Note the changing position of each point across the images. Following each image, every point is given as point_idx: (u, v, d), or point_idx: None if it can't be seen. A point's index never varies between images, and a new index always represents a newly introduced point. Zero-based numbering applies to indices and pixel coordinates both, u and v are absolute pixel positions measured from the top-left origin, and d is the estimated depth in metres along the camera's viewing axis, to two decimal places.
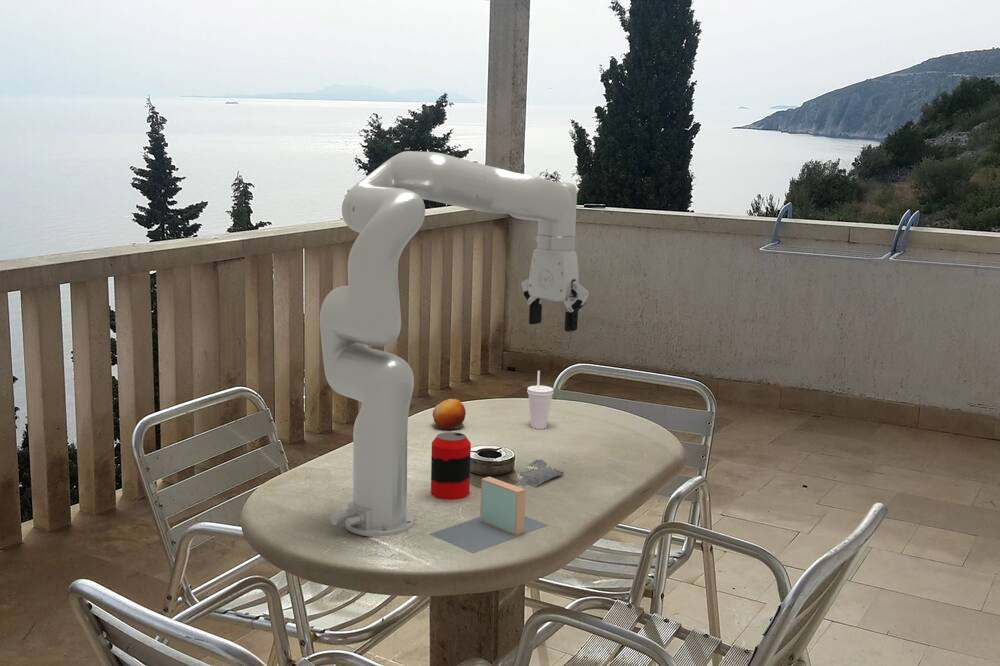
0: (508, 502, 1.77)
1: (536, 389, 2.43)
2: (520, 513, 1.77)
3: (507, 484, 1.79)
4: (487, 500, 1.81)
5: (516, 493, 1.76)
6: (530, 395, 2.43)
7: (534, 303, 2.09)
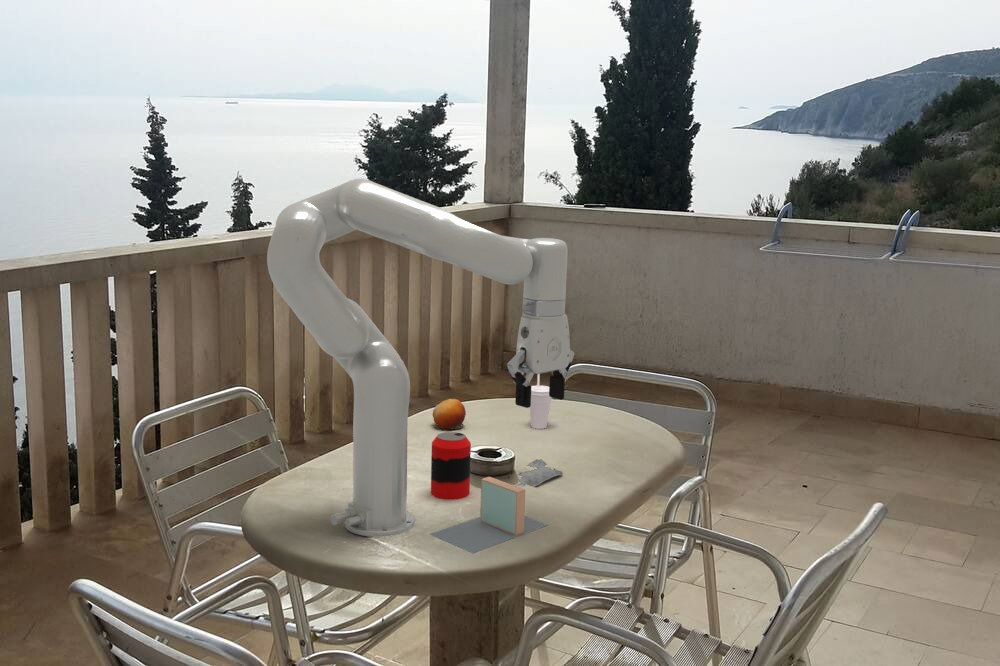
0: (508, 502, 1.77)
1: (536, 389, 2.43)
2: (520, 513, 1.77)
3: (507, 484, 1.79)
4: (487, 500, 1.81)
5: (516, 493, 1.76)
6: None
7: None
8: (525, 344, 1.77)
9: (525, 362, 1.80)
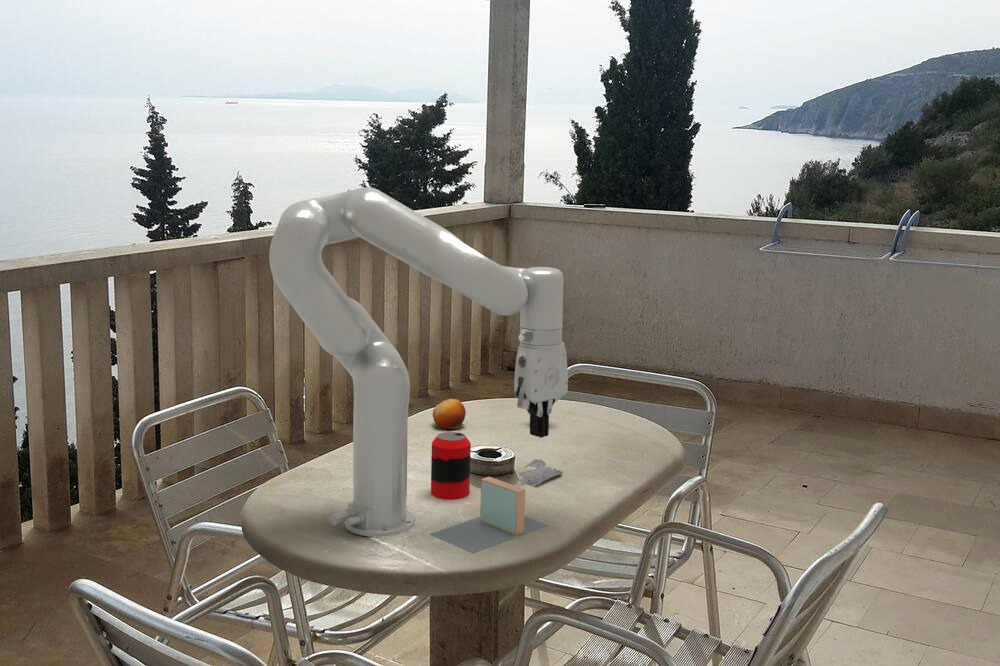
0: (508, 502, 1.77)
1: None
2: (520, 513, 1.77)
3: (507, 484, 1.79)
4: (487, 500, 1.81)
5: (516, 493, 1.76)
6: None
7: None
8: (523, 374, 1.78)
9: None
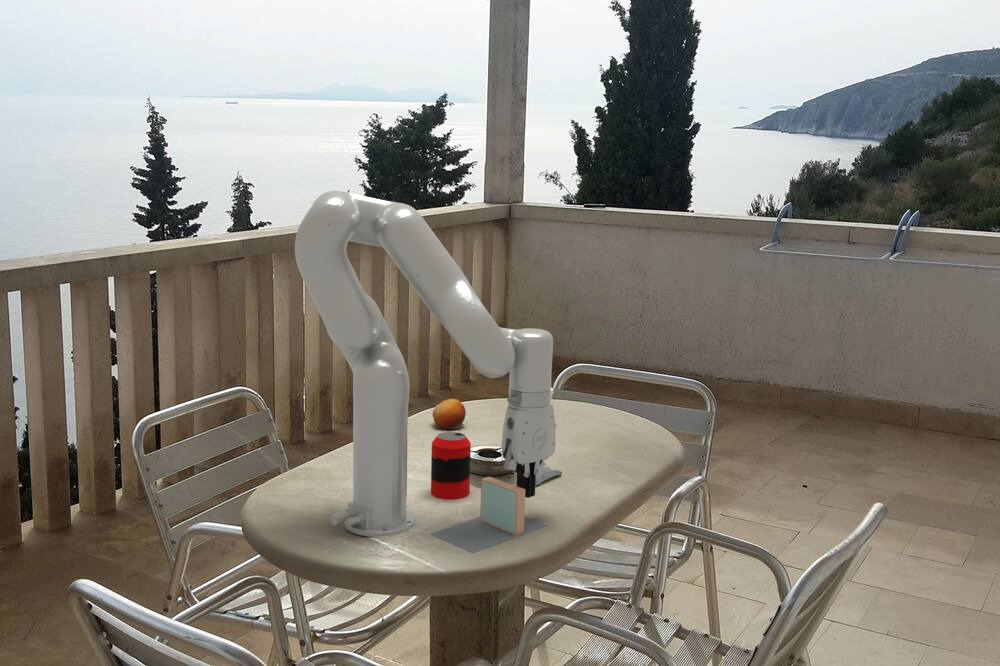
0: (508, 502, 1.77)
1: None
2: (520, 513, 1.77)
3: (507, 484, 1.79)
4: (487, 500, 1.81)
5: (516, 493, 1.76)
6: None
7: None
8: (510, 435, 1.78)
9: None
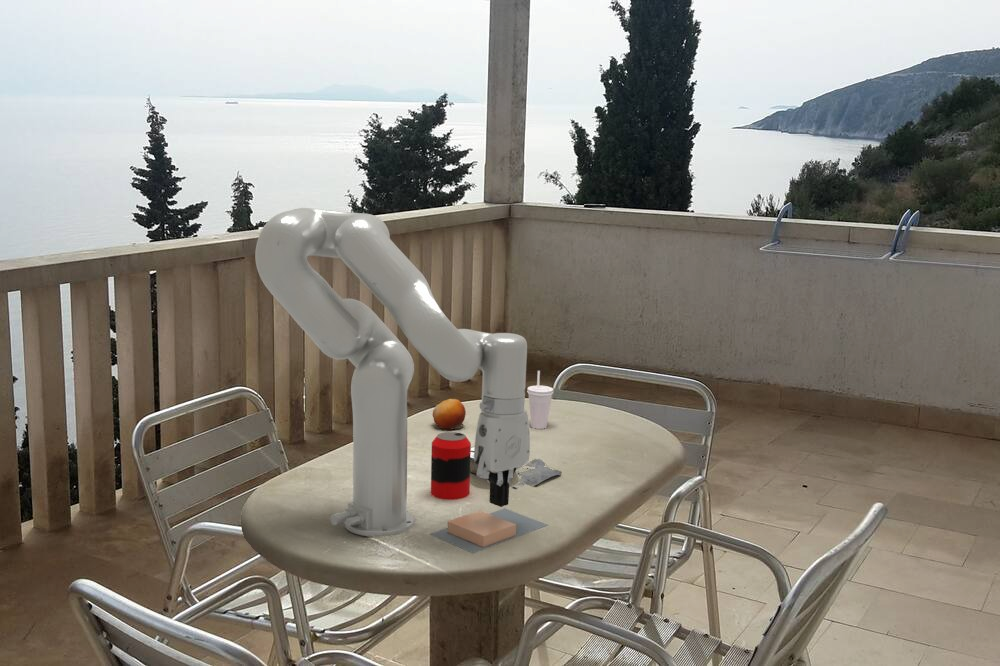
0: None
1: (536, 389, 2.43)
2: (500, 536, 1.74)
3: (467, 532, 1.74)
4: None
5: (483, 545, 1.72)
6: (530, 395, 2.43)
7: None
8: (483, 443, 1.73)
9: None
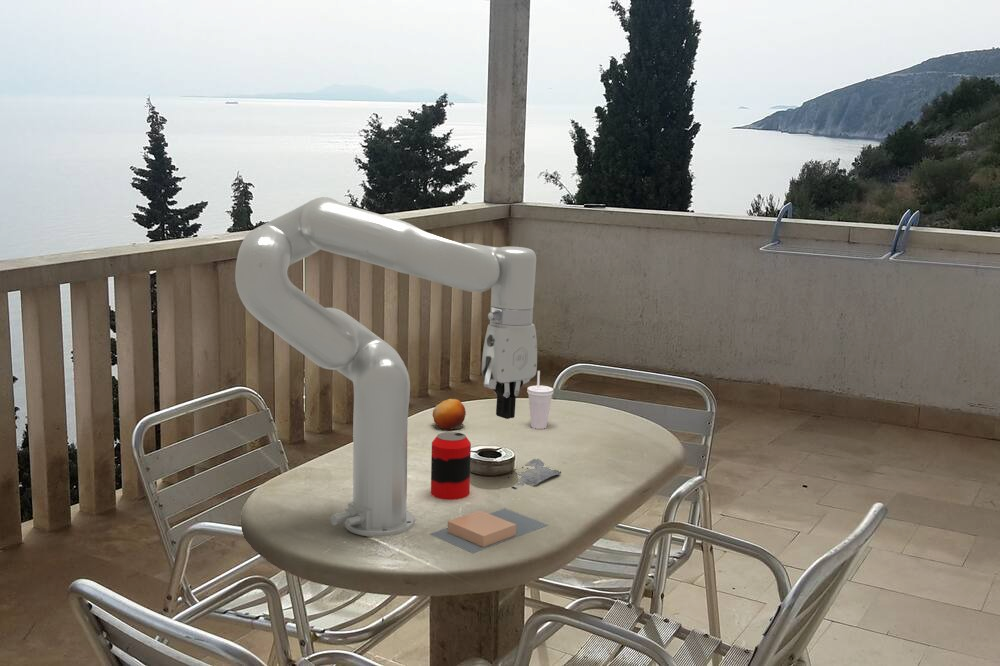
0: None
1: (536, 389, 2.43)
2: (500, 536, 1.74)
3: (467, 532, 1.74)
4: None
5: (483, 545, 1.72)
6: (530, 395, 2.43)
7: None
8: (490, 353, 1.76)
9: None
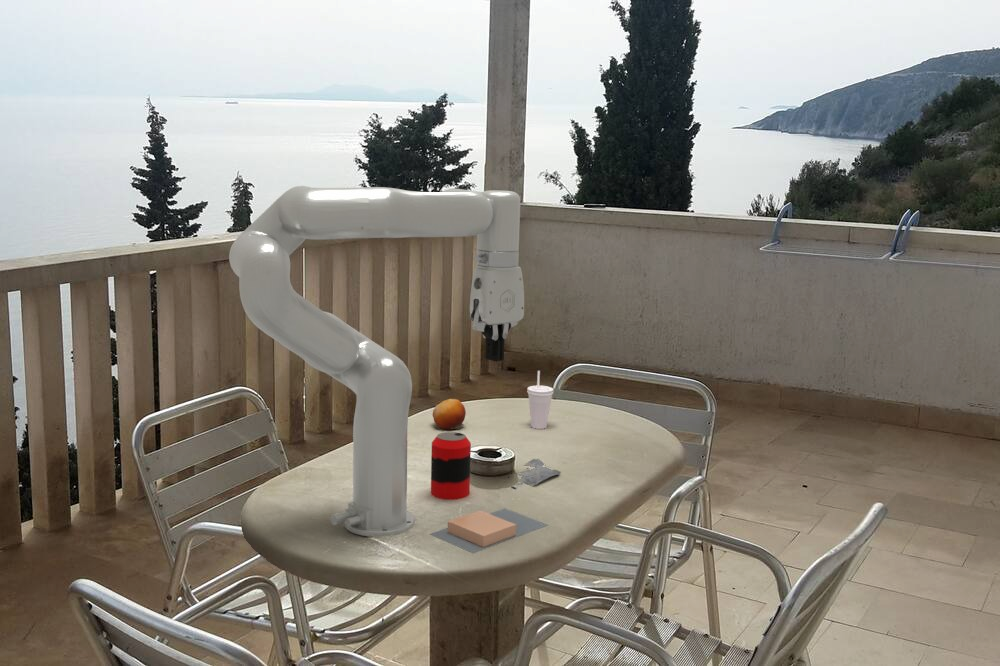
0: None
1: (536, 389, 2.43)
2: (500, 536, 1.74)
3: (467, 532, 1.74)
4: None
5: (483, 545, 1.72)
6: (530, 395, 2.43)
7: None
8: (478, 295, 1.78)
9: None
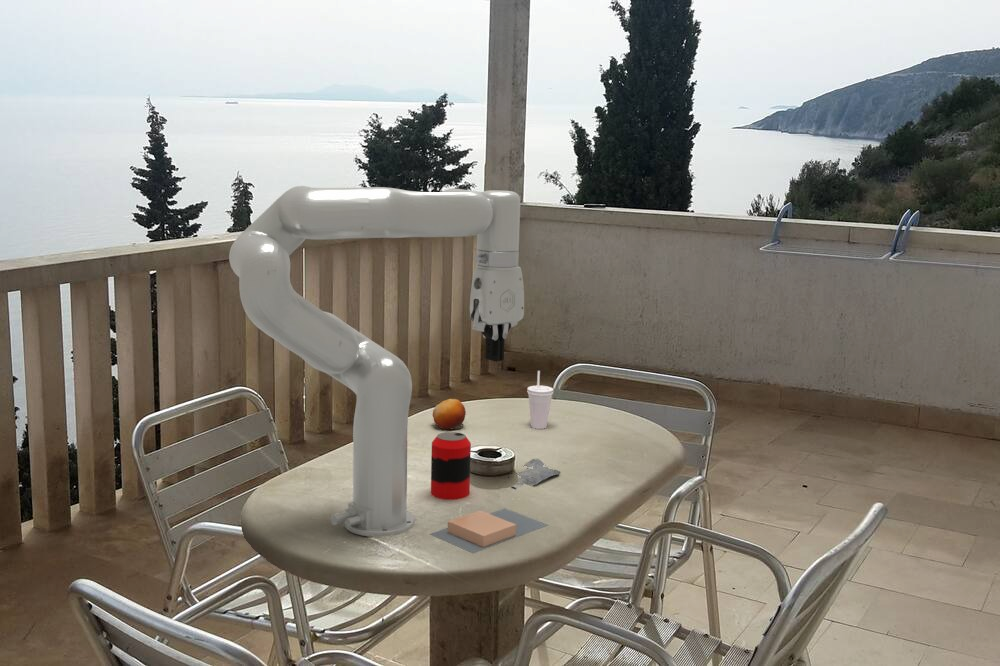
0: None
1: (536, 389, 2.43)
2: (500, 536, 1.74)
3: (467, 532, 1.74)
4: None
5: (483, 545, 1.72)
6: (530, 395, 2.43)
7: None
8: (478, 295, 1.78)
9: None
